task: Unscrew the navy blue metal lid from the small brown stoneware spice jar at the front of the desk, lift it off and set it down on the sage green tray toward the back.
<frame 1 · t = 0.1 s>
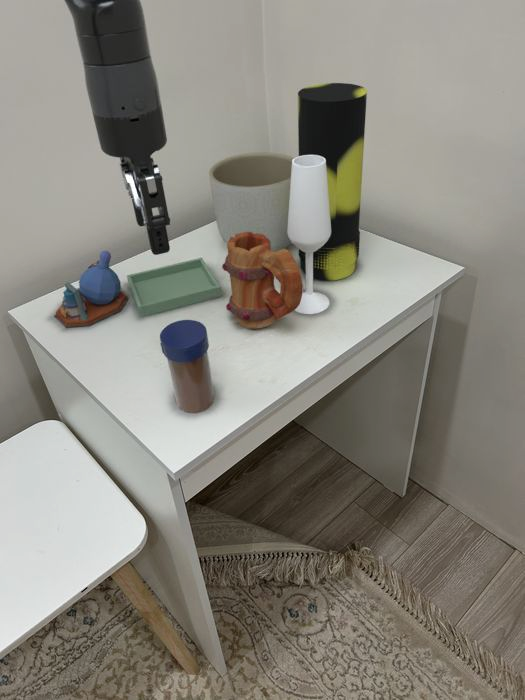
hand: (153, 237, 70), 20 cm above the table, tool pointing down, fingers open, 8 cm apart
tray: (173, 290, 97), on the table
planter: (260, 244, 109), on the table
mug: (266, 327, 87), on the table
jar: (195, 399, 75), on the table
container: (328, 267, 100), on the table
champagne flute: (309, 303, 92), on the table
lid: (183, 335, 68), point 11 cm above the table, screwed on, not yet turned
model: (92, 308, 94), on the table
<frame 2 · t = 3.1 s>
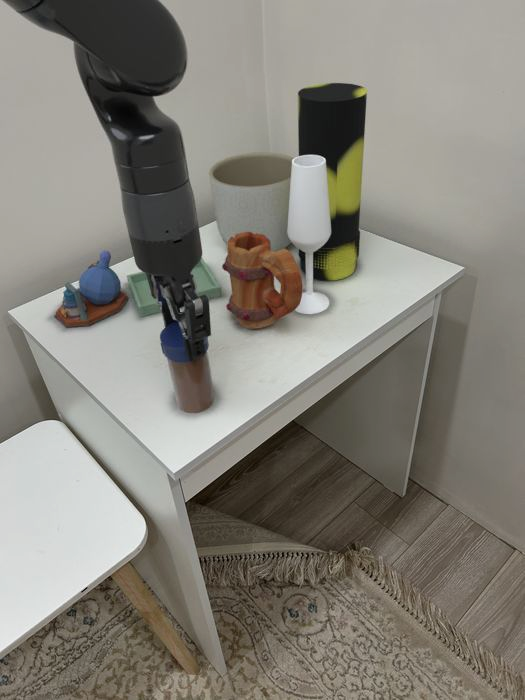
hand: (185, 344, 69), 10 cm above the table, tool pointing down, fingers closed on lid, 6 cm apart
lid: (183, 335, 68), point 11 cm above the table, screwed on, not yet turned, touching gripper
everything else where it was.
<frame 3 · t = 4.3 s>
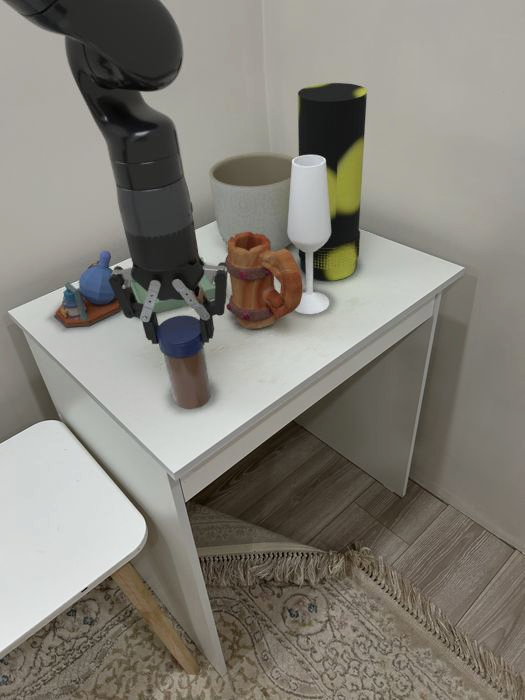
hand: (181, 339, 69), 10 cm above the table, tool pointing down, fingers closed on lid, 6 cm apart
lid: (180, 331, 68), point 11 cm above the table, turned 49° so far, risen 0.1 cm, still on its thread, touching gripper
everything else where it was.
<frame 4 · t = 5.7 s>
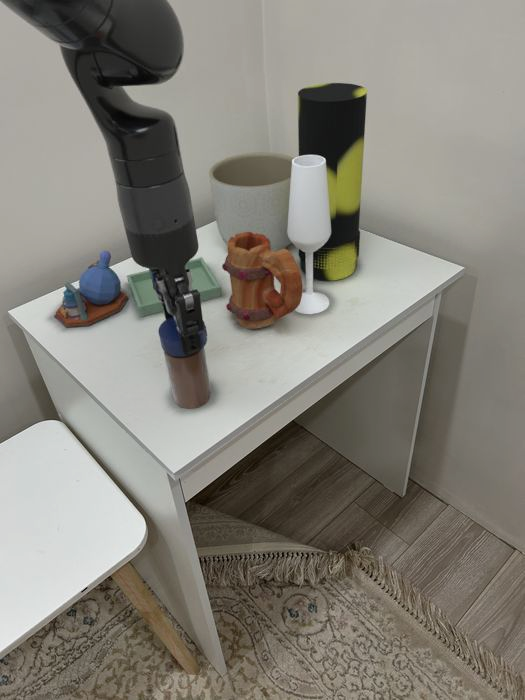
hand: (183, 337, 69), 10 cm above the table, tool pointing down, fingers closed on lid, 5 cm apart
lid: (182, 329, 68), point 12 cm above the table, off its thread, touching gripper
everything else where it was.
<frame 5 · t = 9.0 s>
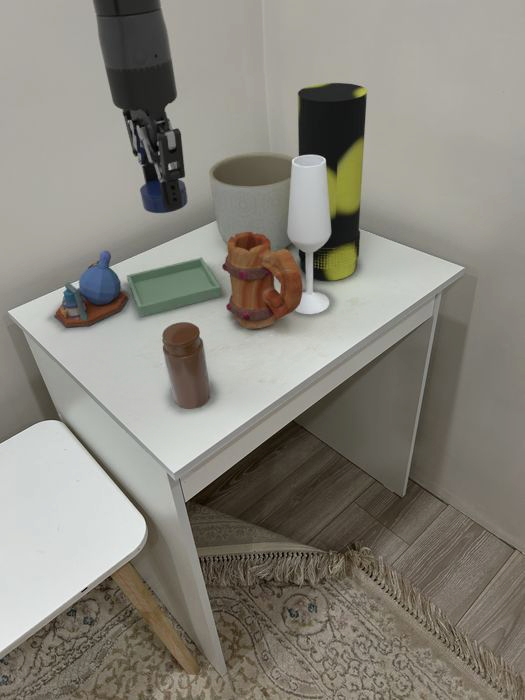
hand: (164, 199, 72), 23 cm above the table, tool pointing down, fingers closed on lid, 5 cm apart
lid: (163, 189, 71), point 24 cm above the table, off its thread, touching gripper
everything else where it was.
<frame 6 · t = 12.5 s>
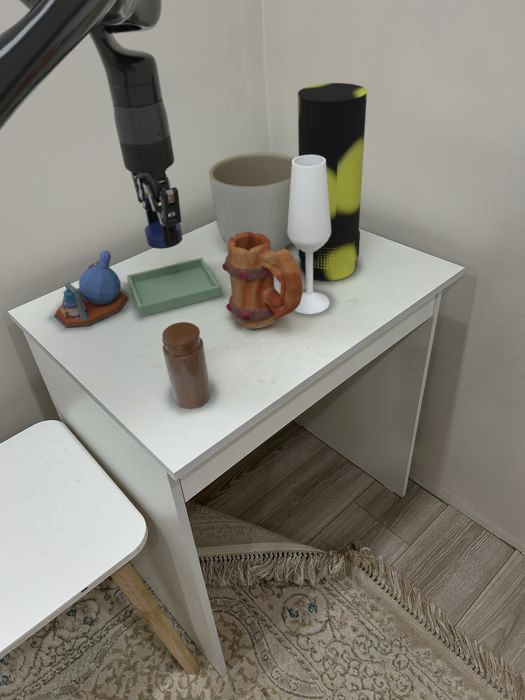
hand: (163, 237, 90), 11 cm above the table, tool pointing down, fingers closed on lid, 6 cm apart
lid: (163, 229, 89), point 12 cm above the table, off its thread, touching gripper
everything else where it was.
when the fingers open (1 cm above the table, at t = 15.1 s): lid stays where it is, resting on tray.
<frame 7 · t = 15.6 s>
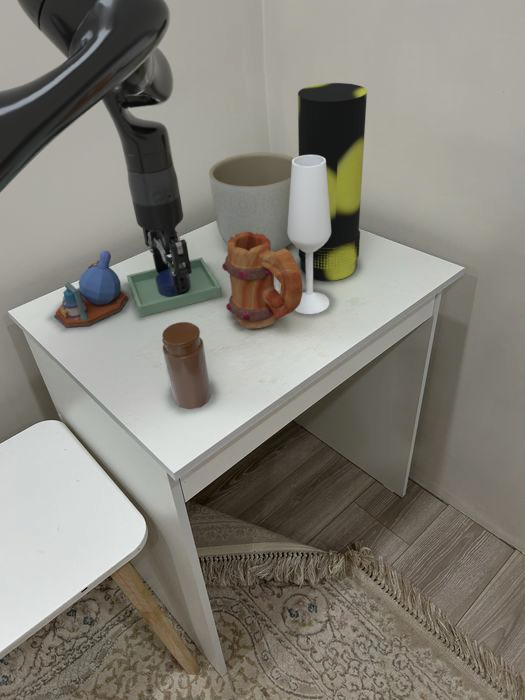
hand: (172, 281, 96), 2 cm above the table, tool pointing down, fingers open, 8 cm apart
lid: (172, 278, 95), point 2 cm above the table, off its thread, touching tray
everything else where it was.
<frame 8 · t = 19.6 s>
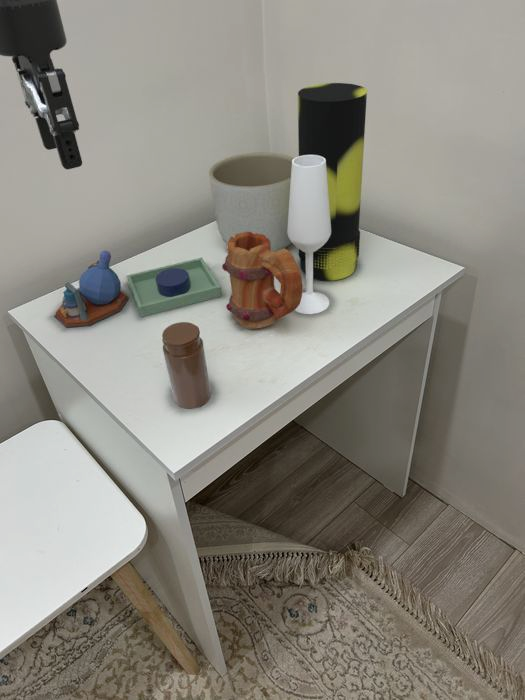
hand: (63, 157, 65), 30 cm above the table, tool pointing down, fingers open, 8 cm apart
nothing on the table moved.
at the end: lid came off its thread; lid inside the target area in the tray (0.1 cm from its centre), point 2.4 cm above the tray's base; the gripper is holding nothing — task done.
